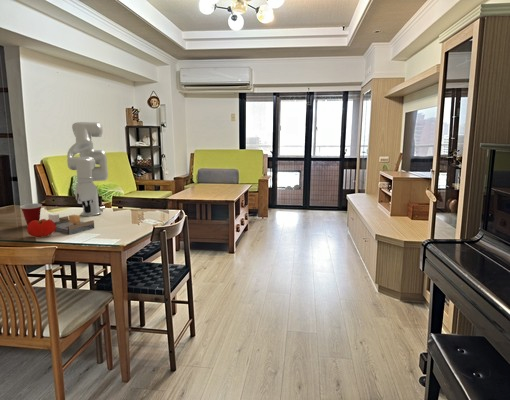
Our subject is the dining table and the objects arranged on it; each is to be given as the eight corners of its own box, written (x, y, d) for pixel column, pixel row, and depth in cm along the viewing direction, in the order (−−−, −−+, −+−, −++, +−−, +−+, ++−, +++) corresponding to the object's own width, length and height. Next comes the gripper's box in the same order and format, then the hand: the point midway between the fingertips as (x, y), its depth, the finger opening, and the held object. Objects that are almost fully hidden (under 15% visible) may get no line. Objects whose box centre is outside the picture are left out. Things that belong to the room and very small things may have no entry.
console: (67, 223, 207) (67, 216, 206) (94, 228, 196) (93, 220, 195) (42, 229, 194) (41, 221, 193) (69, 234, 183) (68, 226, 182)
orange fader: (74, 224, 193) (73, 214, 192) (80, 225, 191) (79, 215, 190) (69, 225, 191) (68, 215, 190) (75, 226, 188) (74, 216, 188)
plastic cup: (20, 228, 195) (18, 207, 193) (23, 224, 205) (20, 204, 203) (43, 226, 200) (41, 205, 198) (44, 222, 210) (42, 202, 208)
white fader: (54, 222, 197) (53, 213, 196) (59, 223, 194) (58, 214, 193) (49, 223, 194) (48, 214, 193) (54, 224, 192) (53, 215, 191)
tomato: (63, 232, 186) (61, 216, 184) (48, 239, 173) (47, 222, 172) (38, 232, 186) (36, 216, 185) (21, 239, 174) (19, 222, 172)
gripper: (92, 178, 202) (94, 208, 206) (68, 181, 190) (71, 214, 194) (101, 179, 199) (103, 210, 203) (76, 183, 186) (80, 216, 190)
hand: (87, 212), depth 198 cm, fingers closed
